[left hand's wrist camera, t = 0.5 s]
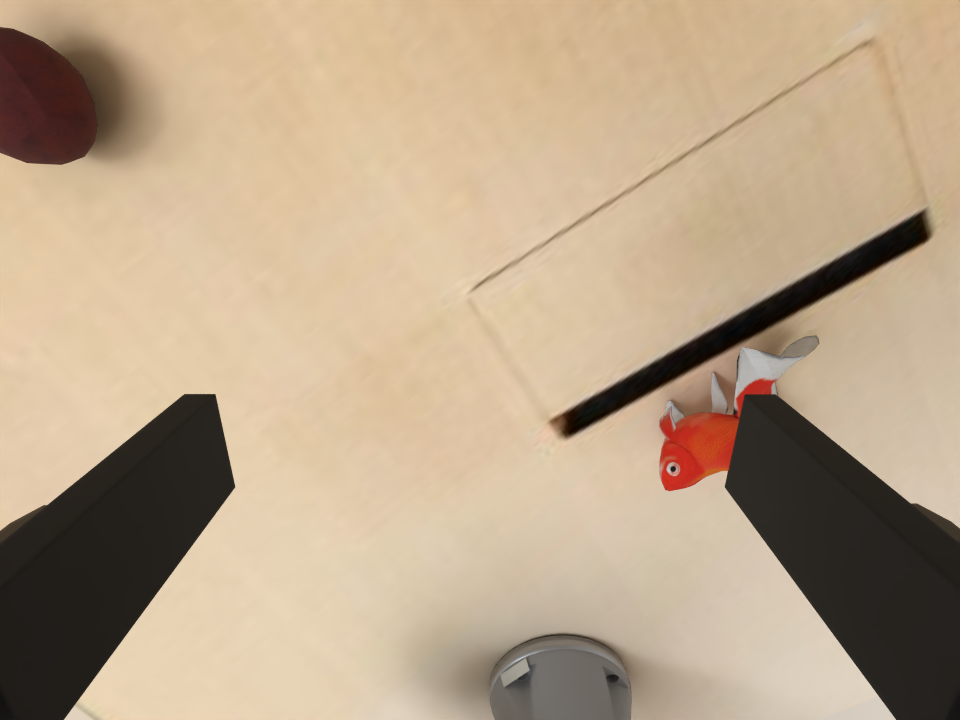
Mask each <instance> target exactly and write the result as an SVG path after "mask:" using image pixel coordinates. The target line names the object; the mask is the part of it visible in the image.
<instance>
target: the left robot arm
mask: <svg viewBox="0 0 960 720" xmlns="http://www.w3.org/2000/svg"><path fill="white" fill-rule="evenodd" d="M234 488H235V484H234V479H233V474H232V470H231V465H230V460H229V456H228V451H227V446H226V442H225V437H224V432H223V428H222V423H221V418H220V414H219V409H218V404H217V400H216V395H215V394H184V395H183V396H182V397H180V398H179V399H178V400H177V401H175V402H174V403H173V404H172V405H171V406H169V407H168V408H167V409H166V410H164V411H163V412H162V413H161V414H159V415H158V416H157V417H156V418H154V419H153V420H152V421H151V422H150V423H148V424H147V425H146V426H145V427H143V428H142V429H141V430H140V431H138V432H137V433H136V434H135V435H133V436H132V437H131V438H130V439H129V440H127V441H126V442H125V443H124V444H122V445H121V446H120V447H119V448H117V449H116V450H115V451H114V452H112V453H111V454H110V455H109V456H108V457H106V458H105V459H104V460H103V461H101V462H100V463H99V464H98V465H96V466H95V467H94V468H93V469H91V470H90V471H89V472H88V473H87V474H85V475H84V476H83V477H82V478H80V479H79V480H78V481H77V482H75V483H74V484H73V485H72V486H70V487H69V488H68V489H67V490H66V491H64V492H63V493H62V494H61V495H59V496H58V497H57V498H56V499H54V500H53V501H52V502H51V503H49V504H48V505H43V506H42V507H40V508H38V509H36V510H34V511H32V512H30V513H28V514H27V515H25V516H23V517H21V518H19V519H17V520H15V521H13V522H12V523H10V524H9V525H7V526H6V527H5V528H3V529H2V530H1V531H0V720H64V719H65V717H66V716H67V715H68V713H69V712H70V711H71V709H72V708H73V706H74V705H75V704H76V702H77V701H78V700H79V698H80V697H81V696H82V694H83V693H84V692H85V690H86V689H87V687H88V686H89V685H90V683H91V682H92V681H93V679H94V678H95V677H96V675H97V674H98V673H99V671H100V670H101V668H102V667H103V666H104V664H105V663H106V662H107V660H108V659H109V658H110V656H111V655H112V654H113V652H114V651H115V649H116V648H117V647H118V645H119V644H120V643H121V641H122V640H123V639H124V637H125V636H126V635H127V633H128V632H129V630H130V629H131V628H132V626H133V625H134V624H135V622H136V621H137V620H138V618H139V617H140V616H141V614H142V613H143V612H144V610H145V609H146V607H147V606H148V605H149V603H150V602H151V601H152V599H153V598H154V597H155V595H156V594H157V593H158V591H159V590H160V588H161V587H162V586H163V584H164V583H165V582H166V580H167V579H168V578H169V576H170V575H171V574H172V572H173V571H174V569H175V568H176V567H177V565H178V564H179V563H180V561H181V560H182V559H183V557H184V556H185V555H186V553H187V552H188V550H189V549H190V548H191V546H192V545H193V544H194V542H195V541H196V540H197V538H198V537H199V536H200V534H201V533H202V531H203V530H204V529H205V527H206V526H207V525H208V523H209V522H210V521H211V519H212V518H213V517H214V515H215V514H216V512H217V511H218V510H219V508H220V507H221V506H222V504H223V503H224V502H225V500H226V499H227V498H228V496H229V495H230V493H231V492H232V491H233V489H234ZM725 488H726V489H727V491H728V492H729V493H730V495H731V496H732V498H733V499H734V500H735V502H736V503H737V504H738V506H739V507H740V508H741V510H742V511H743V512H744V514H745V515H746V517H747V518H748V519H749V521H750V522H751V523H752V525H753V526H754V527H755V529H756V530H757V531H758V533H759V534H760V536H761V537H762V538H763V540H764V541H765V542H766V544H767V545H768V546H769V548H770V549H771V550H772V552H773V553H774V555H775V556H776V557H777V559H778V560H779V561H780V563H781V564H782V565H783V567H784V568H785V569H786V571H787V572H788V574H789V575H790V576H791V578H792V579H793V580H794V582H795V583H796V584H797V586H798V587H799V588H800V590H801V591H802V593H803V594H804V595H805V597H806V598H807V599H808V601H809V602H810V603H811V605H812V606H813V607H814V609H815V610H816V612H817V613H818V614H819V616H820V617H821V618H822V620H823V621H824V622H825V624H826V625H827V626H828V628H829V629H830V630H831V632H832V633H833V635H834V636H835V637H836V639H837V640H838V641H839V643H840V644H841V645H842V647H843V648H844V649H845V651H846V652H847V654H848V655H849V656H850V658H851V659H852V660H853V662H854V663H855V664H856V666H857V667H858V668H859V670H860V671H861V673H862V674H863V675H864V677H865V678H866V679H867V681H868V682H869V683H870V685H871V686H872V687H873V689H874V690H875V692H876V693H877V694H878V696H879V697H880V698H881V700H882V701H883V702H884V704H885V705H886V706H887V708H888V709H889V711H890V712H891V713H892V715H893V716H894V717H895V719H896V720H960V528H958V527H957V526H956V525H955V524H953V523H952V522H951V521H949V520H947V519H945V518H943V517H941V516H939V515H938V514H936V513H934V512H932V511H930V510H928V509H926V508H924V507H922V506H921V505H919V504H911V503H909V502H908V501H907V500H906V499H904V498H903V497H902V496H901V495H899V494H898V493H897V492H896V491H894V490H893V489H892V488H891V487H890V486H888V485H887V484H886V483H885V482H883V481H882V480H881V479H880V478H878V477H877V476H876V475H875V474H873V473H872V472H871V471H870V470H869V469H867V468H866V467H865V466H864V465H862V464H861V463H860V462H859V461H857V460H856V459H855V458H854V457H852V456H851V455H850V454H849V453H848V452H846V451H845V450H844V449H843V448H841V447H840V446H839V445H838V444H836V443H835V442H834V441H833V440H831V439H830V438H829V437H828V436H827V435H825V434H824V433H823V432H822V431H820V430H819V429H818V428H817V427H815V426H814V425H813V424H812V423H810V422H809V421H808V420H807V419H806V418H804V417H803V416H802V415H801V414H799V413H798V412H797V411H796V410H794V409H793V408H792V407H791V406H789V405H788V404H787V403H786V402H785V401H783V400H782V399H781V398H780V397H778V396H777V395H776V394H745V395H744V400H743V404H742V409H741V414H740V418H739V423H738V428H737V432H736V437H735V442H734V446H733V451H732V456H731V460H730V465H729V470H728V474H727V479H726V484H725ZM490 703H491V708H492V712H493V716H494V718H495V720H631V687H630V683H629V679H628V676H627V672H626V669H625V666H624V664H623V663H622V661H621V660H620V658H619V657H618V656H617V655H616V654H615V653H614V652H613V651H612V650H610V649H609V648H607V647H606V646H604V645H602V644H600V643H598V642H596V641H593V640H590V639H587V638H582V637H577V636H566V635H559V636H548V637H543V638H538V639H534V640H531V641H528V642H526V643H524V644H521V645H519V646H518V647H516V648H514V649H513V650H511V651H510V652H508V653H507V654H506V655H505V656H504V657H503V658H502V659H501V660H500V661H499V662H498V663H497V665H496V666H495V668H494V670H493V672H492V675H491V679H490Z"/></svg>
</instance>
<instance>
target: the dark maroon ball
mask: <svg viewBox="0 0 960 720" xmlns="http://www.w3.org/2000/svg"><path fill="white" fill-rule="evenodd" d="M96 131H97V120H96V114H95V107H94V102H93V99H92V97H91V95H90V93H89V90H88V88H87V86H86V84H85V81H84V79H83V77H82V75H81V74H80V73H79V72H78V71H77V70H76V69H75V68H74V67H73V65H72V64H71V63H70V62H69V61H68V60H67V59H66V58H64V57H63V56H62V55H60V54H59V53H58V52H56V51H55V50H54V49H52V48H51V47H50V46H48V45H47V44H46V43H44V42H42V41H40V40H38V39H36V38H34V37H31V36H29V35H27V34H25V33H22V32H20V31H17V30H15V29H10V28H3V27H0V153H2V154H5V155H8V156H10V157H13V158H15V159H18V160H21V161H23V162H26V163H36V164H58V165H62V164H65V163H69V162H72V161H74V160H77V159H79V158H82V157H84V156H85V155H86V154H87V152H88V151H89V149H90V148H91V147H92V145H93V144H94V141H95V136H96Z"/></svg>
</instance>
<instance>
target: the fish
mask: <svg viewBox="0 0 960 720" xmlns="http://www.w3.org/2000/svg"><path fill="white" fill-rule="evenodd" d="M818 344H819V339H818V337H817V336H807V337H803V338H801V339H799V340H797V341H796V342H794V343H792V344H791V345H789V346H788V347H787V348H786V349H785V351H784V352H783V353H782V354H781V356H778V355H773V354H769V353H766V352H762V351H758V350H753V349H749V348H744V347H741V350H740V353H739V356H738V360H737V382H736V389H735V400H734V413H733V415H726V413H727V410H728V403H727V401H726V398H725V396H724V394H723V392H722V390H721V388H720V386H719V383H718V381H717V378H716V376H715V373H712V383H711V395H712V411H711V412H702V413H696V414H692V415H689V416H686V417H684V414H683V412H682V411H680V410H679V409H678V408H677V407H676V406H675V405H674V403H673V402H672V401H668V402H667V404H666V410H665V414H664V415H663V417H662V418H661V419H660V429H661V430H662V432H663V434H664V435H665V436H666V437H665V440H664V443H663V446H662V449H661V456H660V464H659V473H660V478H661V481H662V483H663V486H664V488H665V490H668V491H673V490H678V489H683V488H687V487H690V486H692V485H694V484H696V483H697V482H699V481H700V480H702V479H703V478H705V477H707V476H709V475H712V474H714V473H717V472H720V471H728V470H729V465H730V460H731V456H732V451H733V446H734V442H735V437H736V432H737V428H738V423H739V418H740V414H741V409H742V404H743V400H744V395H745V394H776V395H777V396H778V393H777V389H776V383H775V381H776V380H777V379H778V378H779V377H780V376H781V375H782V374H783V373H784V372H785V371H786V370H788V369H789V368H790V367H791V366H792V365H794V364H795V363H796V362H798V361H799V360H801V359H802V358H804V357H806V356H807V355H808V354H809V353H811V352H812V351H813V350H814V349H815V348H816V347H817V346H818Z"/></svg>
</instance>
